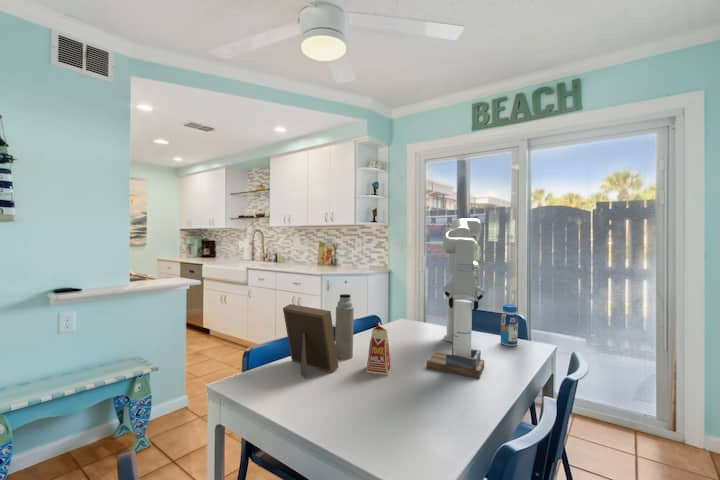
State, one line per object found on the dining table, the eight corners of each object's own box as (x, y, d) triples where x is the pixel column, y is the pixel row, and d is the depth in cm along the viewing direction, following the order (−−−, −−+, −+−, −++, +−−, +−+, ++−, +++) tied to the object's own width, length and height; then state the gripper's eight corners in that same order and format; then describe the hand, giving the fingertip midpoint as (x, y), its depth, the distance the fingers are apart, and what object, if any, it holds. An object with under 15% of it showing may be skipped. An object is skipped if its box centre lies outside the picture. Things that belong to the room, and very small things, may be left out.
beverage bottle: (500, 340, 193) (501, 303, 192) (518, 343, 189) (519, 305, 189) (499, 344, 185) (500, 306, 185) (517, 347, 181) (518, 307, 181)
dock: (435, 358, 162) (435, 343, 162) (484, 367, 152) (484, 350, 152) (426, 368, 149) (427, 352, 149) (479, 378, 140) (479, 360, 140)
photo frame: (298, 358, 158) (299, 302, 157) (338, 369, 146) (339, 308, 145) (273, 369, 145) (273, 307, 145) (314, 382, 133) (315, 315, 133)
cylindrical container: (467, 365, 145) (468, 303, 144) (450, 361, 149) (451, 301, 149) (473, 360, 150) (474, 301, 150) (457, 357, 155) (458, 299, 154)
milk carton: (388, 375, 141) (389, 324, 141) (365, 373, 143) (366, 322, 143) (391, 367, 150) (392, 319, 150) (369, 365, 152) (370, 317, 152)
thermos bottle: (336, 353, 166) (337, 292, 166) (353, 354, 165) (354, 293, 165) (333, 359, 158) (334, 295, 158) (351, 360, 157) (352, 296, 157)
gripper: (487, 268, 149) (486, 309, 149) (445, 266, 156) (444, 305, 157) (485, 270, 142) (483, 313, 142) (441, 267, 150) (440, 308, 150)
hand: (463, 309), depth 150 cm, fingers open, 9 cm apart
